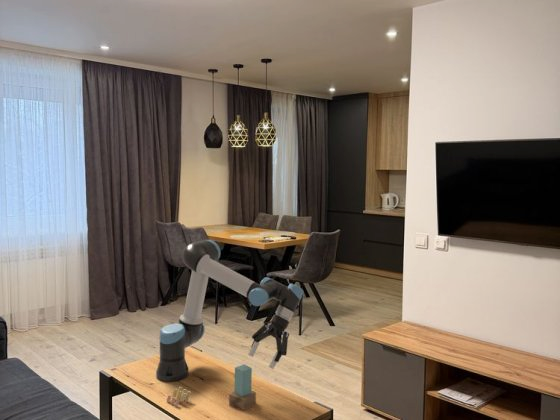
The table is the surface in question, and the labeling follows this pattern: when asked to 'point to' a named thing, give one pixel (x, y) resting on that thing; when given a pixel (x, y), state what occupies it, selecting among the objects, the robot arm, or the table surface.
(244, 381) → the teal block
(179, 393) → the ammunition
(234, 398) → the walnut base
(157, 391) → the table surface
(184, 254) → the robot arm
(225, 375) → the table surface
